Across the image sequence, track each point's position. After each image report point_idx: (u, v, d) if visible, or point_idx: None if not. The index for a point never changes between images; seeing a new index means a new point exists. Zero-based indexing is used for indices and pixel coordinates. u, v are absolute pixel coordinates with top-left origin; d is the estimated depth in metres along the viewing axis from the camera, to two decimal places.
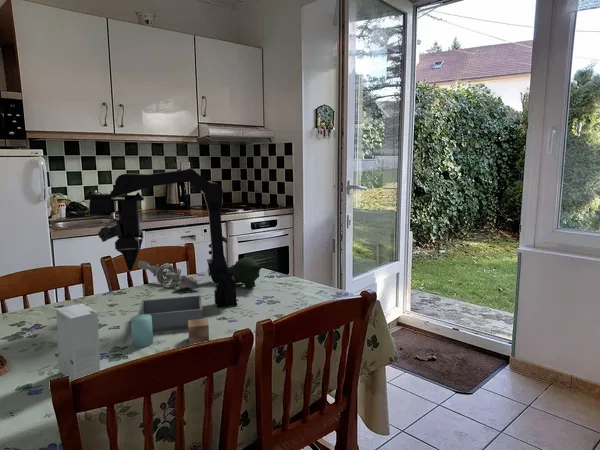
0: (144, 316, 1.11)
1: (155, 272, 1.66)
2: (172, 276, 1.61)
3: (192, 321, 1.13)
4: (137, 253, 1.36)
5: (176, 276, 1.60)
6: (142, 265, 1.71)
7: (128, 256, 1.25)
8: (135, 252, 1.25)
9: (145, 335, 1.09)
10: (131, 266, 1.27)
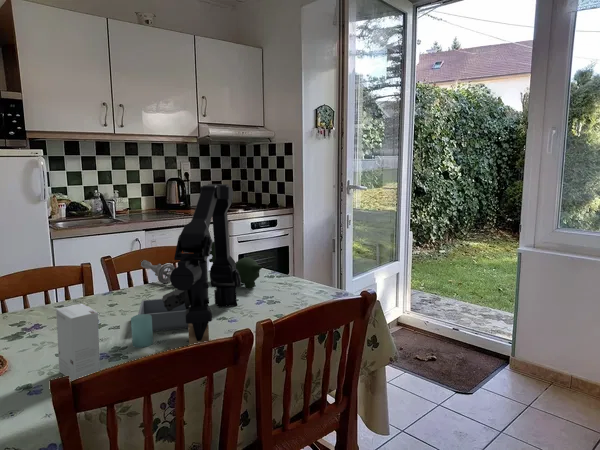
0: (144, 316, 1.11)
1: (157, 271, 1.66)
2: None
3: None
4: None
5: None
6: (145, 264, 1.72)
7: (198, 326, 1.08)
8: (206, 321, 1.08)
9: (145, 335, 1.09)
10: (200, 336, 1.10)
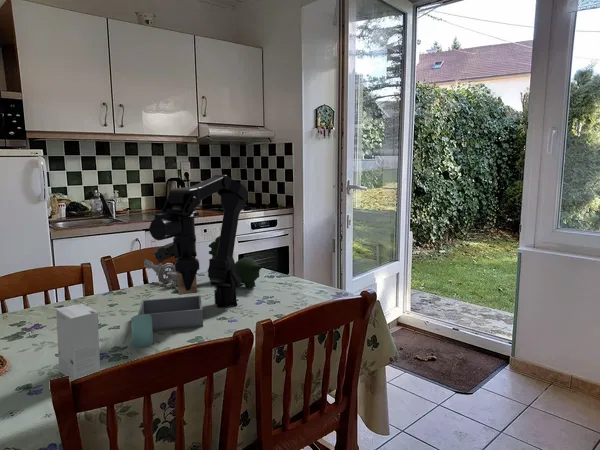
0: (144, 316, 1.11)
1: (158, 271, 1.67)
2: (173, 276, 1.61)
3: None
4: None
5: (176, 276, 1.60)
6: (146, 264, 1.72)
7: (186, 276, 1.19)
8: (194, 272, 1.18)
9: (145, 335, 1.09)
10: (189, 286, 1.20)
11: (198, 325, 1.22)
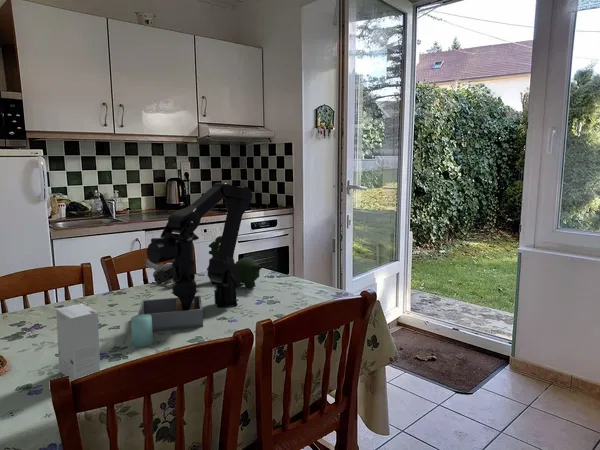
0: (144, 316, 1.11)
1: None
2: None
3: None
4: None
5: None
6: (148, 264, 1.73)
7: (184, 300, 1.21)
8: (192, 296, 1.20)
9: (145, 335, 1.09)
10: None
11: (198, 325, 1.22)
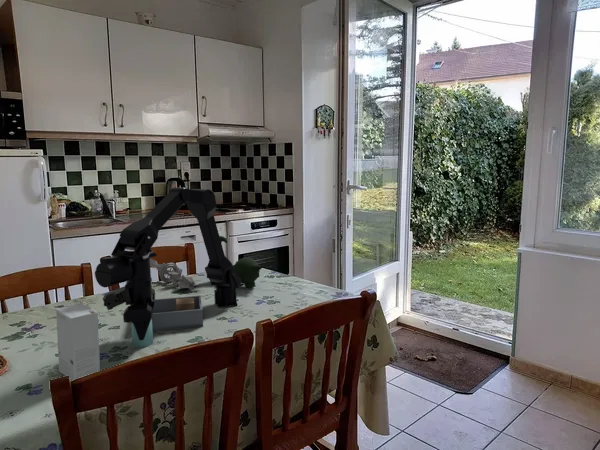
0: None
1: None
2: (174, 275, 1.62)
3: (180, 300, 1.27)
4: None
5: (177, 276, 1.60)
6: (151, 263, 1.74)
7: (139, 325, 1.06)
8: (148, 320, 1.06)
9: None
10: (143, 336, 1.08)
11: (198, 325, 1.22)
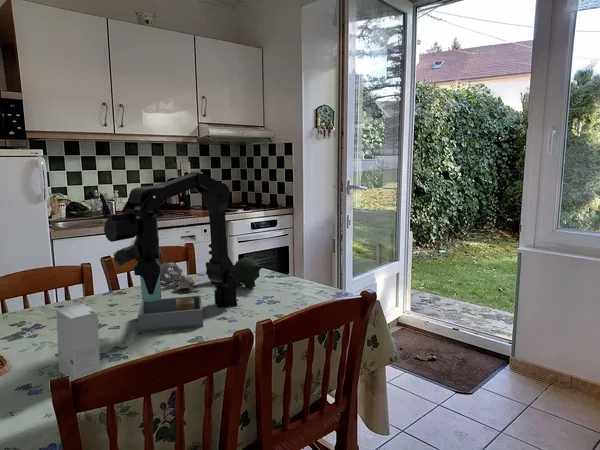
0: None
1: None
2: (174, 275, 1.62)
3: (180, 300, 1.27)
4: None
5: (177, 276, 1.60)
6: None
7: (149, 279, 1.13)
8: (156, 275, 1.13)
9: None
10: (152, 290, 1.14)
11: (198, 325, 1.22)
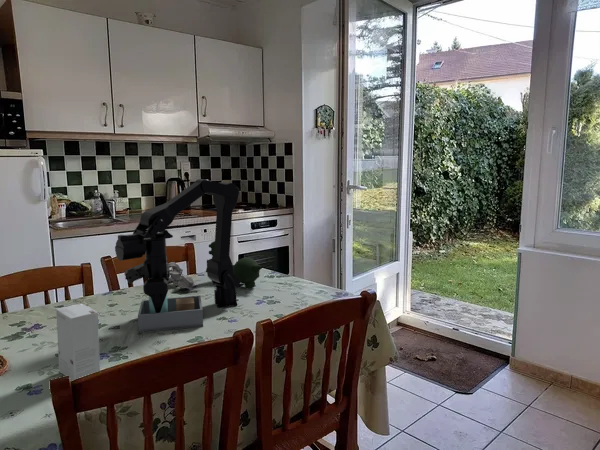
0: None
1: None
2: (174, 275, 1.62)
3: (180, 300, 1.27)
4: None
5: (177, 275, 1.61)
6: None
7: (156, 299, 1.19)
8: (164, 295, 1.18)
9: (161, 311, 1.23)
10: (159, 309, 1.20)
11: (198, 325, 1.22)
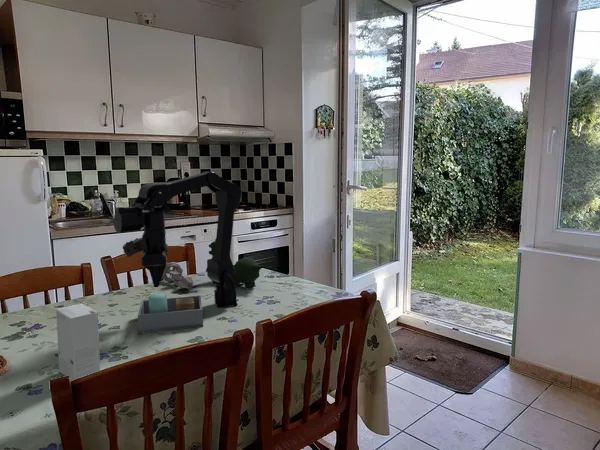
0: (160, 295, 1.25)
1: None
2: (175, 275, 1.62)
3: (180, 300, 1.27)
4: None
5: (178, 275, 1.61)
6: None
7: (155, 272, 1.17)
8: (162, 268, 1.17)
9: (161, 311, 1.23)
10: (157, 283, 1.19)
11: (198, 325, 1.22)
